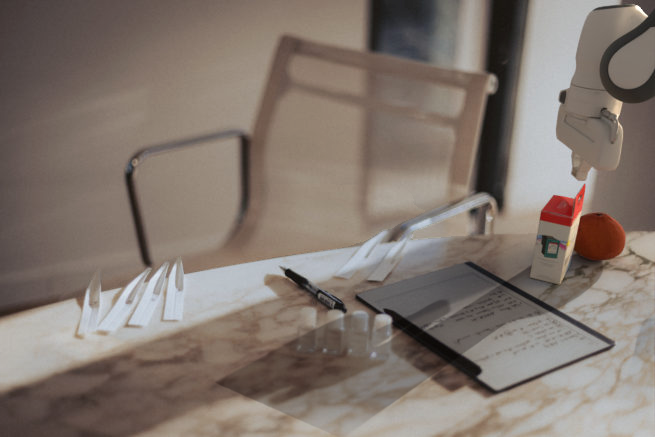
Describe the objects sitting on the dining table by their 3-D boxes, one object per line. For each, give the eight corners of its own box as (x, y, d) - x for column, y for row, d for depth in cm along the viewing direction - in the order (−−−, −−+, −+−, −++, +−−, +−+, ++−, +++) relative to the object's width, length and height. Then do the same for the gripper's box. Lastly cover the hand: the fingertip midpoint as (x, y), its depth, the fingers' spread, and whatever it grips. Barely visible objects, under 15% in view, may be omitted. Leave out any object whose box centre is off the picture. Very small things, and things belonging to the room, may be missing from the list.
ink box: (541, 258, 106) (555, 176, 100) (571, 265, 104) (588, 182, 98) (528, 278, 99) (543, 191, 94) (560, 286, 97) (577, 198, 91)
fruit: (555, 246, 110) (563, 205, 107) (602, 245, 112) (611, 203, 109) (580, 270, 102) (589, 225, 99) (630, 267, 104) (641, 223, 100)
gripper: (640, 117, 98) (620, 199, 103) (589, 91, 117) (575, 161, 122) (600, 116, 98) (582, 198, 103) (556, 90, 116) (543, 160, 122)
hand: (578, 178), depth 113 cm, fingers closed
